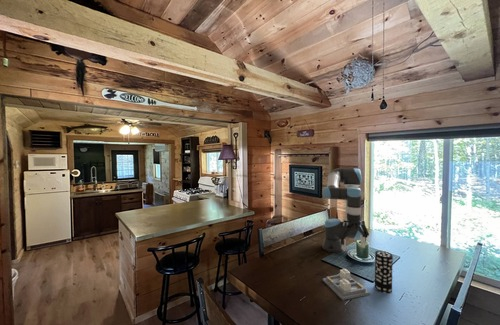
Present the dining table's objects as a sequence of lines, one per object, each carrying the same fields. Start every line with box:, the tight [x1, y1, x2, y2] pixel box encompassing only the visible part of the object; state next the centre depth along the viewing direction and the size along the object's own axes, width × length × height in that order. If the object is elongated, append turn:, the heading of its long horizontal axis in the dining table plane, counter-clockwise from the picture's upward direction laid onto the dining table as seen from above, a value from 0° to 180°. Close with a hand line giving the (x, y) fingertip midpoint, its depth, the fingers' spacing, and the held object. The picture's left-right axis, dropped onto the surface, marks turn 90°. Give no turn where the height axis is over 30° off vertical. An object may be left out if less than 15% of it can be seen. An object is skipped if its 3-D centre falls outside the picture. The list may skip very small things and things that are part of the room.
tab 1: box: [339, 268, 351, 280], centre depth 129 cm, size 4×4×6 cm
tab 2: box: [340, 279, 351, 292], centre depth 119 cm, size 4×4×6 cm
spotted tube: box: [374, 250, 394, 294], centre depth 122 cm, size 8×8×20 cm
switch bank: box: [322, 273, 371, 301], centre depth 124 cm, size 17×18×3 cm
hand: (353, 248), depth 131 cm, fingers open, 13 cm apart
